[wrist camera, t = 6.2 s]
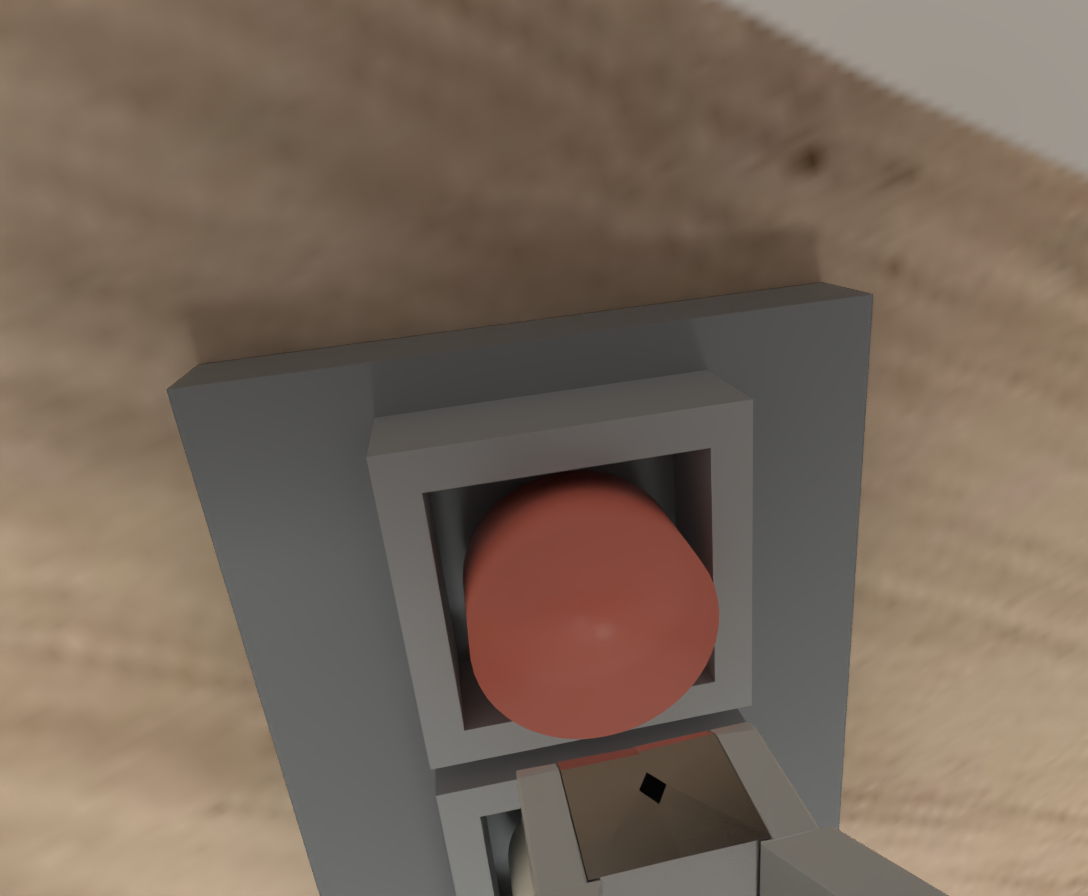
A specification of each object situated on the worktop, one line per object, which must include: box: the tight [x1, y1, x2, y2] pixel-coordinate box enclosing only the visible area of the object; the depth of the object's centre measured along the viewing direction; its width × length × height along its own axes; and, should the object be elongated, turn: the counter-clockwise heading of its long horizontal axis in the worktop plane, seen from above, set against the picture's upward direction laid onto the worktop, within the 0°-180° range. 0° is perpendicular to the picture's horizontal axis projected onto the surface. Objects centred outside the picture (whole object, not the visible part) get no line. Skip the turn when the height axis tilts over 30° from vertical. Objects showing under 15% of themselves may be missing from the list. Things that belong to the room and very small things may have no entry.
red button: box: [463, 470, 719, 739], centre depth 13 cm, size 4×4×2 cm
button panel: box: [167, 282, 873, 896], centre depth 18 cm, size 14×24×4 cm, turn 6°
